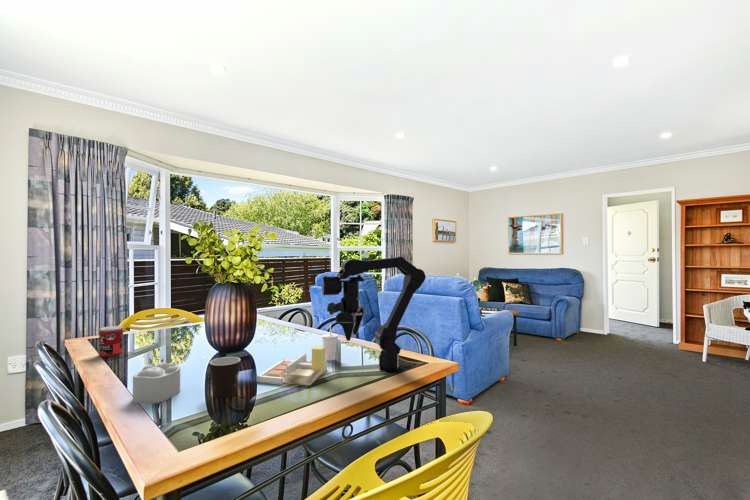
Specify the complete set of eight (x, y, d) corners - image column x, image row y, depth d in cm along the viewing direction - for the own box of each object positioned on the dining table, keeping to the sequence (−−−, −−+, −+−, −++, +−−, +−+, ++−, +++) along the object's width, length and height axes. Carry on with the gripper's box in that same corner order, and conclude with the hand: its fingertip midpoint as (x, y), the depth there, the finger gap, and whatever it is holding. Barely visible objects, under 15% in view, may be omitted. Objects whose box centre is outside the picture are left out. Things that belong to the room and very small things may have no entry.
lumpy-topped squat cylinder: (126, 402, 103) (126, 371, 103) (158, 385, 116) (159, 358, 116) (160, 404, 102) (160, 373, 102) (189, 387, 115) (189, 359, 115)
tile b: (279, 365, 130) (279, 370, 130) (274, 368, 126) (274, 374, 126) (290, 365, 129) (290, 371, 129) (285, 369, 125) (285, 375, 125)
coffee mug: (229, 401, 104) (229, 366, 104) (202, 398, 106) (203, 364, 106) (251, 386, 116) (251, 355, 116) (226, 384, 117) (227, 353, 117)
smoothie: (339, 357, 148) (339, 323, 148) (336, 362, 141) (336, 326, 142) (323, 357, 148) (324, 322, 149) (319, 361, 142) (320, 325, 142)
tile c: (273, 369, 125) (273, 375, 125) (267, 373, 121) (267, 379, 121) (283, 370, 124) (283, 376, 124) (278, 374, 120) (278, 380, 120)
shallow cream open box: (326, 369, 133) (326, 361, 133) (309, 385, 117) (309, 376, 117) (303, 367, 134) (303, 359, 134) (283, 383, 119) (284, 373, 119)
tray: (305, 366, 136) (305, 361, 136) (281, 384, 117) (281, 378, 117) (282, 364, 138) (283, 359, 138) (256, 382, 119) (256, 376, 119)
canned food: (94, 356, 147) (94, 328, 147) (113, 350, 155) (113, 325, 155) (108, 357, 145) (108, 330, 145) (127, 352, 153) (127, 326, 153)
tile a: (286, 360, 135) (286, 366, 135) (281, 364, 131) (281, 369, 131) (296, 361, 134) (296, 367, 134) (291, 364, 130) (291, 370, 130)
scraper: (330, 362, 132) (330, 342, 132) (315, 375, 117) (315, 354, 117) (304, 360, 134) (304, 341, 134) (286, 373, 119) (286, 352, 119)
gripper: (337, 291, 142) (338, 331, 142) (320, 297, 123) (321, 343, 123) (365, 291, 139) (366, 331, 140) (352, 297, 121) (353, 344, 121)
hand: (351, 337), depth 131 cm, fingers open, 9 cm apart
